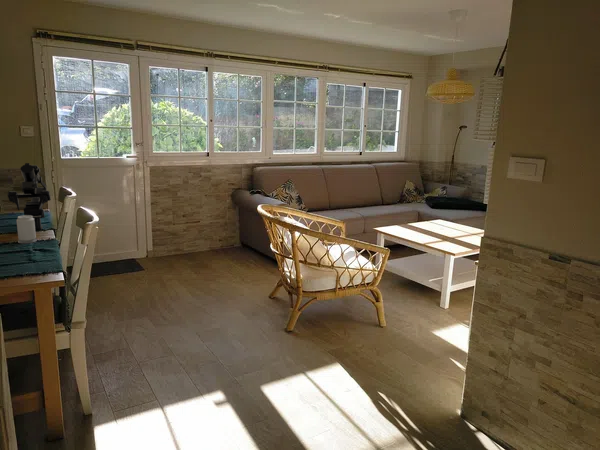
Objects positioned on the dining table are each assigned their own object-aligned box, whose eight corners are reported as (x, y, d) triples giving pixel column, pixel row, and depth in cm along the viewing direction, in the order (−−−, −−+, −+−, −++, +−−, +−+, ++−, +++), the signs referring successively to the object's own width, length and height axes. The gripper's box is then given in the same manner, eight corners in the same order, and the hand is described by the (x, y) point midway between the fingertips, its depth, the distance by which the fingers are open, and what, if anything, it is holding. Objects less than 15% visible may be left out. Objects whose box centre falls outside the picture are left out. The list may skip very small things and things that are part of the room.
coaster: (19, 240, 226) (19, 238, 226) (37, 238, 229) (37, 237, 229) (16, 244, 219) (16, 242, 219) (35, 243, 222) (35, 241, 222)
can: (28, 242, 220) (25, 218, 217) (14, 241, 221) (12, 217, 218) (39, 238, 227) (37, 215, 224) (26, 237, 228) (24, 214, 226)
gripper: (6, 175, 230) (3, 201, 222) (48, 175, 237) (47, 199, 229) (10, 188, 239) (8, 213, 231) (51, 188, 246) (50, 212, 238)
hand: (28, 209), depth 232 cm, fingers open, 9 cm apart
